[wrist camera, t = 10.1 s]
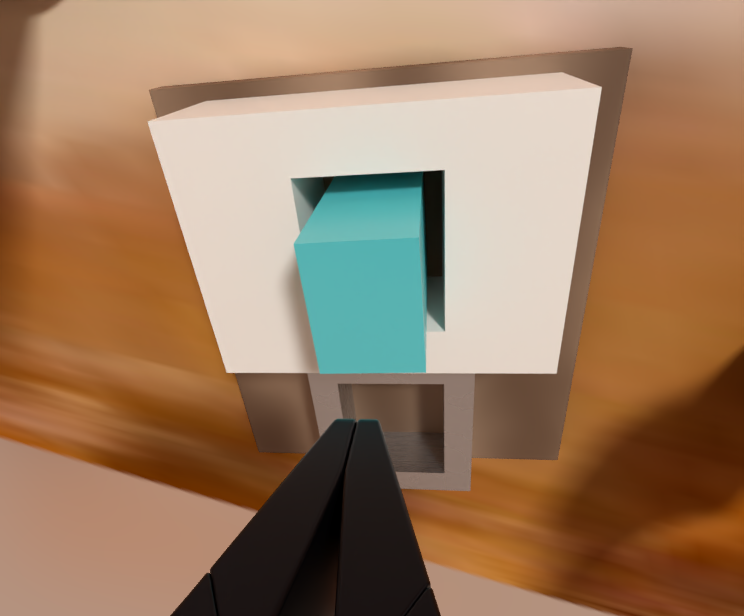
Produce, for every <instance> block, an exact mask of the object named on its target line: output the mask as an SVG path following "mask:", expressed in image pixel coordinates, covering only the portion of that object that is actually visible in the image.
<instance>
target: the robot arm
mask: <svg viewBox="0 0 744 616" xmlns="http://www.w3.org/2000/svg"><path fill="white" fill-rule="evenodd" d="M210 573H211V574H210ZM210 573H206V574H205V576H204V577H203V578H202V579H201V580H200V582H199V583H198V584H197V585H196V586H195V588H194V589H193V590H192V591H191V592H190V594H189V595H188V596H187V597H186V598H185V599H184V601H183V602H182V603H181V604H180V605H179V606H178V607H177V608H176V610H175V611H174V612H173V613H172V614H171V615H170V616H441V615H440V612H439V609H438V605H437V602H436V600H435V596H434V593H433V590H432V588H431V587H430V581H429V577H428V575H427V571H426V568H425V565H424V561H423V558H422V555H421V552H420V549H419V545H418V542H417V539H416V536H415V533H414V530H413V526H412V523H411V520H410V517H409V514H408V510H407V507H406V504H405V501H404V498H403V494H402V491H401V488H400V485H399V482H398V478H397V475H396V472H395V469H394V466H393V462H392V459H391V456H390V453H389V450H388V446H387V443H386V440H385V437H384V434H383V430H382V427H381V424H380V422H379V420H377V419H360V420H358V421H356V420H355V419H336V420H334V421H333V422H332V423H331V424H330V426H329V427H328V428H327V429H326V430H325V432H324V433H323V434H322V435H321V436H320V438H319V439H318V440H317V441H316V442H315V444H314V445H313V446H312V447H311V448H310V450H309V451H308V452H307V453H306V454H305V456H304V457H303V458H302V459H301V460H300V462H299V463H298V464H297V465H296V466H295V468H294V469H293V470H292V471H291V472H290V474H289V475H288V476H287V477H286V478H285V480H284V481H283V482H282V483H281V484H280V486H279V487H278V488H277V489H276V490H275V492H274V493H273V494H272V495H271V496H270V498H269V499H268V500H267V501H266V502H265V504H264V505H263V506H262V507H261V508H260V510H259V511H258V512H257V513H256V515H255V516H254V517H253V518H252V519H251V521H250V522H249V523H248V524H247V525H246V527H245V528H244V529H243V530H242V531H241V533H240V534H239V535H238V536H237V537H236V539H235V540H234V541H233V542H232V543H231V545H230V546H229V547H228V548H227V549H226V551H225V552H224V553H223V554H222V555H221V557H220V558H219V559H218V560H217V561H216V563H215V564H214V565H213V566H212V567H211V569H210Z"/></svg>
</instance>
